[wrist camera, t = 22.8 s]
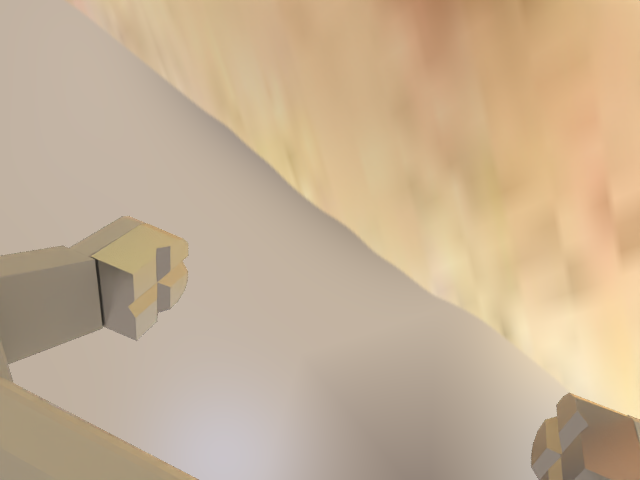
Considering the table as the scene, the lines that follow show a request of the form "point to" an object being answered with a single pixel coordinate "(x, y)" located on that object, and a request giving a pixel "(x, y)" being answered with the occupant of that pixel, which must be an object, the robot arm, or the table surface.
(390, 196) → the table surface
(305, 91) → the table surface
